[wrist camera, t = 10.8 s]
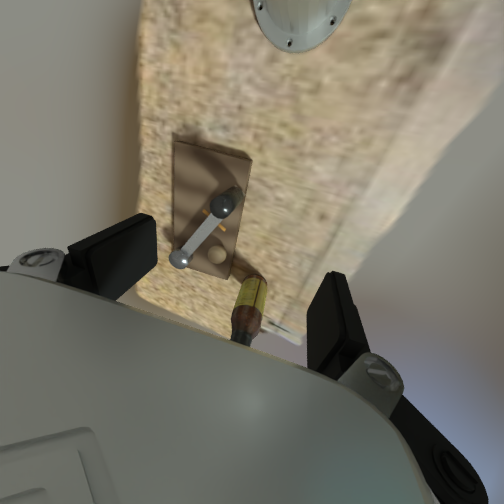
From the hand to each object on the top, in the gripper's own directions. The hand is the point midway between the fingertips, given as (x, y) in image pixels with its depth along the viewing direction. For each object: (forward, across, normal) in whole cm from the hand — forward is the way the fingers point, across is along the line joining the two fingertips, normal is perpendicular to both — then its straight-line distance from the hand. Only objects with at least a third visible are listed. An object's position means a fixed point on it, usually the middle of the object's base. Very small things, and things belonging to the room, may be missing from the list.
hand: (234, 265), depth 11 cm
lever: (+28, +12, +14) cm, 33 cm away
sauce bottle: (+31, -1, +26) cm, 40 cm away
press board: (+30, +13, +12) cm, 35 cm away
